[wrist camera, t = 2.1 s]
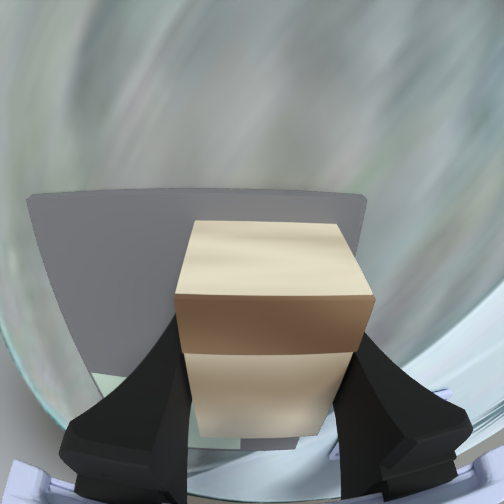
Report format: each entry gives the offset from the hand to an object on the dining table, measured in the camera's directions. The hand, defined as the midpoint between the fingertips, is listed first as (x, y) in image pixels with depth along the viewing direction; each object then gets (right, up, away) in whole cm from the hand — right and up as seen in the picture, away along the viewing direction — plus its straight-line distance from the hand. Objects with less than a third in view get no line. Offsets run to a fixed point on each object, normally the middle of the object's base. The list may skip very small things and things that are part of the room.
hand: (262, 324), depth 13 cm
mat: (-3, -3, +4) cm, 6 cm away
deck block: (0, 0, +1) cm, 1 cm away
